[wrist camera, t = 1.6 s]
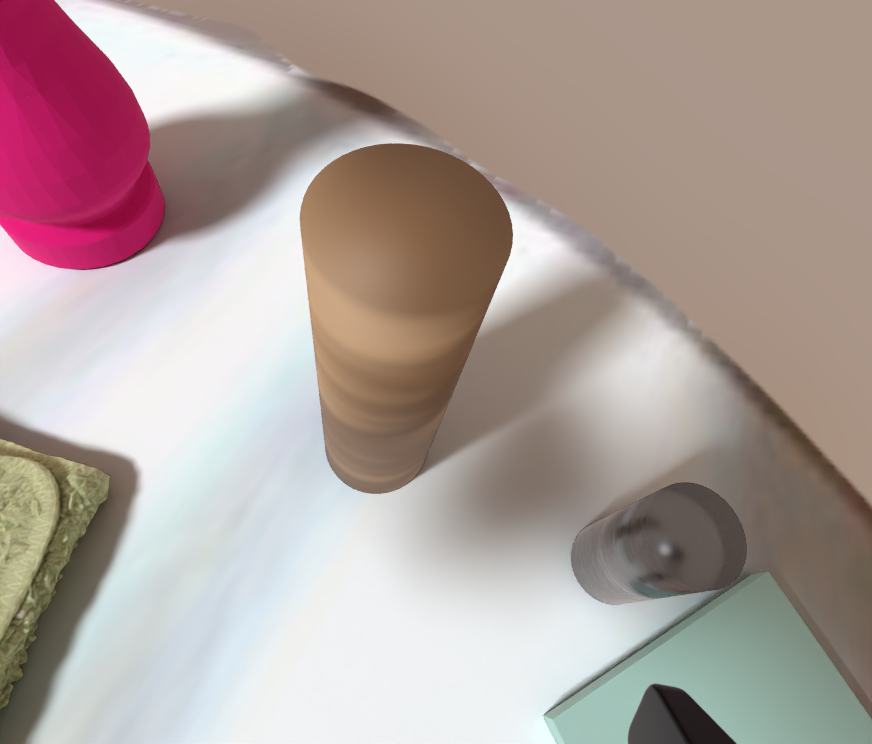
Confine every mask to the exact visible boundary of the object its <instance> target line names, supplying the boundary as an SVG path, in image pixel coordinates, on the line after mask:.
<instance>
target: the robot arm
mask: <svg viewBox="0 0 872 744" xmlns="http://www.w3.org/2000/svg"><path fill="white" fill-rule="evenodd" d="M628 744H737V743H736V742H735V741H734V740H733V739H732V738H731V737H730V736H729V735H728V734H727V733H726V732H725V731H724V730H723V729H722V728H721V727H720V726H719V725H718V724H717V723H716V722H715V721H714V720H713V719H712V718H711V717H710V716H709V715H708V714H707V713H706V712H705V711H704V710H703V709H702V708H701V707H700V706H699V705H698V704H697V703H696V702H695V700H694V699H693V698H692V697H691V696H690V695H689V694H687V693H686V692H685V691H684V690H682V689H680V688H678V687H673V686H667V685H662V684H656V683H655V684H651V685H650V686H648V687H647V689H646V690H645V692H644V695H643V697H642V699H641V702H640V704H639V706H638V708H637V711H636V713H635V715H634V717H633V720H632V722H631V724H630V727H629V731H628Z"/></svg>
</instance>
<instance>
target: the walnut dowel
mask: <svg viewBox="0 0 872 744" xmlns="http://www.w3.org/2000/svg"><path fill="white" fill-rule="evenodd" d="M300 227H301V237H302V246H303V255H304V263H305V272H306V281H307V290H308V299H309V308H310V317H311V325H312V334H313V343H314V352H315V361H316V370H317V378H318V387H319V396H320V405H321V414H322V423H323V431H324V440H325V449H326V455H327V459H328V462H329V464H330V466H331V468H332V470H333V471H334V473H335V474H336V476H337V477H338V478H339V479H340V480H341V481H343V482H344V483H345V484H346V485H348V486H350V487H351V488H353V489H356V490H358V491H361V492H365V493H372V494H381V493H387V492H391V491H394V490H397V489H399V488H401V487H403V486H405V485H406V484H407V483H409V482H410V481H411V480H412V479H413V478H414V477H415V476H416V475H417V474H418V472H419V471H420V469H421V467H422V465H423V463H424V461H425V458H426V456H427V453H428V451H429V449H430V446H431V444H432V441H433V439H434V437H435V434H436V432H437V429H438V427H439V425H440V422H441V420H442V417H443V415H444V413H445V410H446V408H447V405H448V403H449V401H450V398H451V396H452V393H453V391H454V389H455V386H456V384H457V381H458V379H459V376H460V374H461V372H462V369H463V367H464V364H465V362H466V360H467V357H468V355H469V352H470V350H471V348H472V345H473V343H474V340H475V338H476V336H477V333H478V331H479V328H480V326H481V324H482V321H483V319H484V316H485V314H486V312H487V309H488V307H489V304H490V302H491V300H492V297H493V295H494V292H495V290H496V288H497V285H498V283H499V280H500V278H501V276H502V273H503V271H504V268H505V266H506V263H507V261H508V259H509V256H510V252H511V248H512V240H513V231H512V223H511V219H510V215H509V212H508V210H507V207H506V205H505V203H504V201H503V199H502V198H501V196H500V194H499V193H498V192H497V190H496V189H495V188H494V186H493V185H492V184H491V183H490V182H489V181H488V180H487V179H486V178H485V177H484V176H483V175H482V174H481V173H479V172H478V171H477V170H476V169H474V168H473V167H471V166H470V165H468V164H467V163H465V162H464V161H462V160H460V159H458V158H456V157H454V156H452V155H449V154H447V153H444V152H442V151H439V150H436V149H432V148H429V147H424V146H419V145H412V144H380V145H374V146H369V147H364V148H361V149H358V150H354V151H352V152H350V153H347V154H345V155H343V156H341V157H339V158H338V159H336V160H334V161H333V162H331V163H330V164H329V165H327V166H326V167H325V168H324V169H322V171H321V172H320V173H319V174H318V175H317V176H316V177H315V178H314V180H313V181H312V182H311V184H310V185H309V187H308V189H307V191H306V193H305V195H304V198H303V202H302V205H301V212H300Z"/></svg>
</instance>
